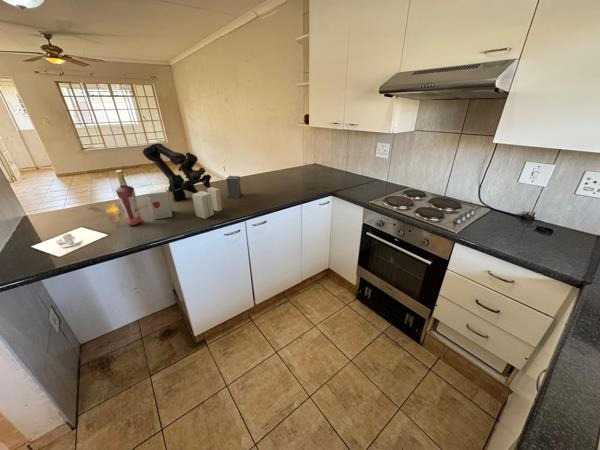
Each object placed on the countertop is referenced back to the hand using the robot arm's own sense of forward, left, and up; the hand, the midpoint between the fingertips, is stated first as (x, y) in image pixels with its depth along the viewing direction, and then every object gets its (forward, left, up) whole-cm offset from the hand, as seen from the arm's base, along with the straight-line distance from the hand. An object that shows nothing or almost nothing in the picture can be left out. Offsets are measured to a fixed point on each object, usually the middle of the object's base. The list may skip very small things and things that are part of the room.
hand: (205, 193), depth 146 cm
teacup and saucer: (-64, +1, -9) cm, 65 cm away
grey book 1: (+21, +6, -9) cm, 23 cm away
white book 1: (-8, -11, -9) cm, 16 cm away
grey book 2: (+23, +8, -9) cm, 26 cm away
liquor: (-38, +2, -9) cm, 39 cm away
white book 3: (+2, -7, -9) cm, 11 cm away
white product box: (-24, +4, -9) cm, 26 cm away
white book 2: (-5, -10, -9) cm, 14 cm away
